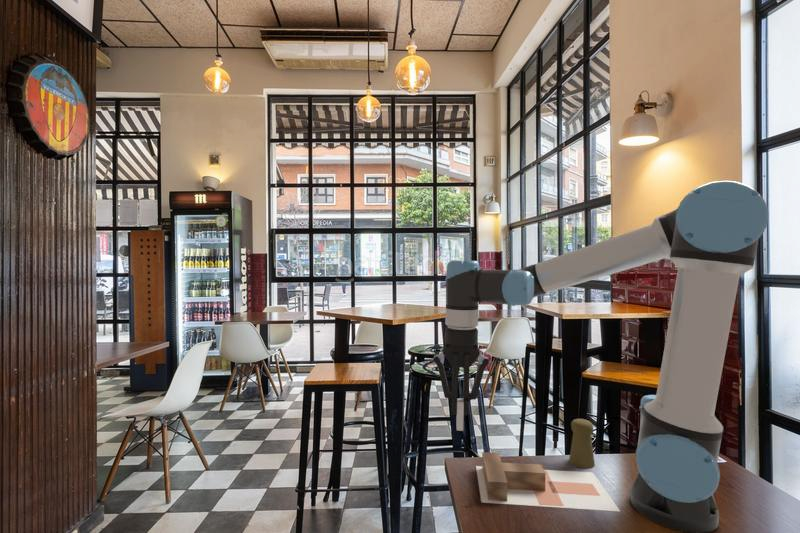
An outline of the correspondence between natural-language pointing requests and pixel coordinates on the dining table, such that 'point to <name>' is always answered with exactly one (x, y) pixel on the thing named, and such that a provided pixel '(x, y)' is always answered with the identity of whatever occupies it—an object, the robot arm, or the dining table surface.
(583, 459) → the olive pepper mill
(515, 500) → the mat
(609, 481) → the dining table surface
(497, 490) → the t block
